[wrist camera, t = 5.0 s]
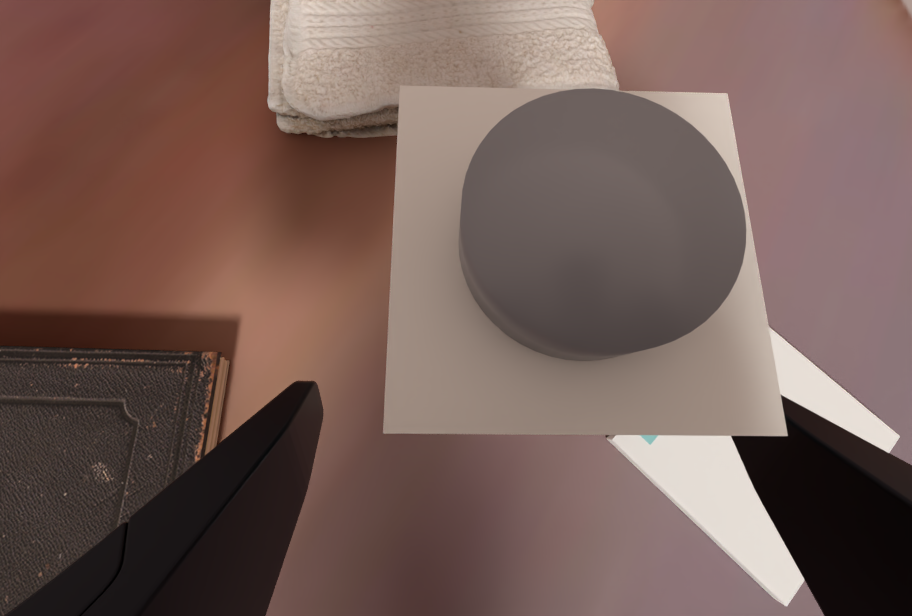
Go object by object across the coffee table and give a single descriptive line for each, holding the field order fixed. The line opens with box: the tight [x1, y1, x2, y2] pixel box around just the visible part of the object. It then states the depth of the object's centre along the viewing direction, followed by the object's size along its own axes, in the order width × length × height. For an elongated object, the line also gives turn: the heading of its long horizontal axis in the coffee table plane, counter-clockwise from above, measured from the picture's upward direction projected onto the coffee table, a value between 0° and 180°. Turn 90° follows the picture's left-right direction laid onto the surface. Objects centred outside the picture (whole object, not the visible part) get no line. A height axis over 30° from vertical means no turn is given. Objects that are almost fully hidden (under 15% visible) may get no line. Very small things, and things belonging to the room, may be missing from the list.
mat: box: [606, 327, 900, 607], centre depth 17 cm, size 9×9×1 cm
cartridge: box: [383, 85, 788, 436], centre depth 11 cm, size 5×5×14 cm
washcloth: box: [267, 0, 619, 138], centre depth 21 cm, size 12×18×3 cm, turn 97°
